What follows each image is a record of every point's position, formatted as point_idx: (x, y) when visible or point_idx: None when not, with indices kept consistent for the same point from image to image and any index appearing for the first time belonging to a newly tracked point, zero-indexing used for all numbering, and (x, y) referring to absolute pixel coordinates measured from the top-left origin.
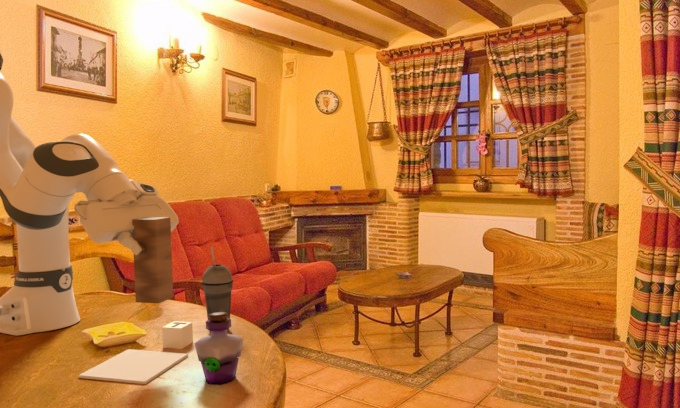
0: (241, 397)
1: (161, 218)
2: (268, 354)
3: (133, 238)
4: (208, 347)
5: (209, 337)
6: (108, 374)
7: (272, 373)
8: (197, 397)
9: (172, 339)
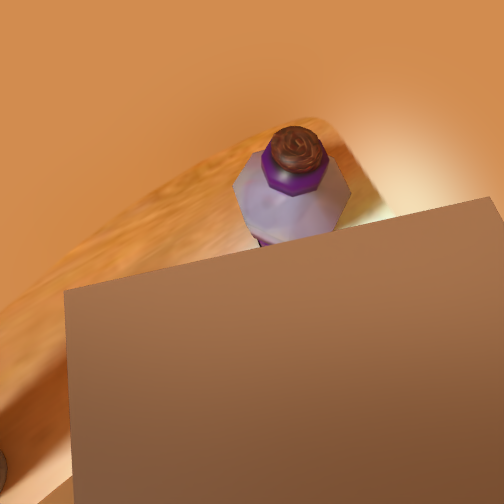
0: (332, 154)
1: (312, 248)
2: (131, 224)
3: None
4: (341, 179)
5: (308, 198)
6: None
7: (222, 164)
8: (372, 216)
9: None
